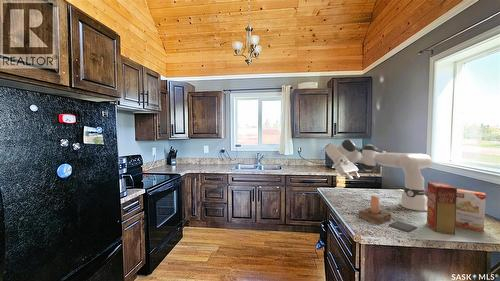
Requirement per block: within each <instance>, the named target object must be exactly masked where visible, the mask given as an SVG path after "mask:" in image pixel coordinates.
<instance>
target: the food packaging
mask: <svg viewBox="0 0 500 281" xmlns="http://www.w3.org/2000/svg"><path fill="white" fill-rule="evenodd" d="M457 189H458V188H456V187H454V186H452V185H450V184H448V183H445V182H433V181H428V182H427V211H426V224H427V225H428V226H429V228H430V229H432V230H433V231H434V232H435V233H439V234H440V233H441V234H448V235H453V236H454V235H455V236H456V228H457V226H456V198H457Z"/></svg>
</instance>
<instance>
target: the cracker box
mask: <svg viewBox="0 0 500 281" xmlns="http://www.w3.org/2000/svg"><path fill="white" fill-rule="evenodd" d="M486 195H487V194H486V192H481V191H473V190H466V189H460V188H457V198H456V227H461V228H464V229H468V228H469V230H472V229H474V230H473V231H477V230H478V231H477V232H481V231H482V232H481V233H485V232H484V231H485V217H486V216H485V215H486V201H487V200H486V198H487V196H486Z"/></svg>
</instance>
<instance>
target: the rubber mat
mask: <svg viewBox="0 0 500 281" xmlns="http://www.w3.org/2000/svg"><path fill="white" fill-rule="evenodd" d="M388 226H389V227H392V228H393V229H394V228H395V229H398V230H401V231H403V232H406V233H410V232H412V231H415V230H417V228H418V227H417V226H415V225H412V224H409V223H405V222H403V221H400V220H395V221H394V222H391V223H389V224H388Z"/></svg>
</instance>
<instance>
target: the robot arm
mask: <svg viewBox="0 0 500 281" xmlns="http://www.w3.org/2000/svg"><path fill="white" fill-rule="evenodd" d="M361 150H362V151H361ZM361 150H360V148H359V147H358V146H357V145H356V144H355V143H354V141H352V140H351V139H344V140H343V141H342V142H341V143H340V144H339V145H336V144H335V143H333V142H329V143H328V144H327V145H326V146H325V147H324V151H325V153H326V155H327V156H328V157H329V159H331V160H332V162H333V164H332V168H334V169H335V171H336V172H337V173H338V174H339V175H340V176H341V177H343V176H344V177H346V178H347V179H349V181H352V180H354V178H353V176H351V174H352V175H354V176H355V178H356V179H359V178H360V177H361V176H360V175H359V173H358V171H359V168H358V166H356V165H355V163H359V164H358V165H359V166H360V168H361V169H362V170H363V171H364V170H365V171H366V172H371V171H374V170H376V164H378V165H380V166H384V167H392V168H399V169H400V168H402V171H403V173H404V187H403V193H402V194H401V198H400V202H398V205H401V207H403V208H405V209H408V210H413V211H419V212H421V211H423V212H427V198H428V196H427V195H426V191H427V189H426V188H425V177H424V176H423V175H422V173H421V170H423V169H426V168H428V167H430V166H431V165H432V163H433V160H432V158H431V156H430V155H428V154H424V153H413V152H411V153H410V152H408V153H407V152H405V153H404V152H403V153H402V152H379V151H380V149H378V148H377V147H376V145H373V144H365V145H363V146H362V149H361Z"/></svg>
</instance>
